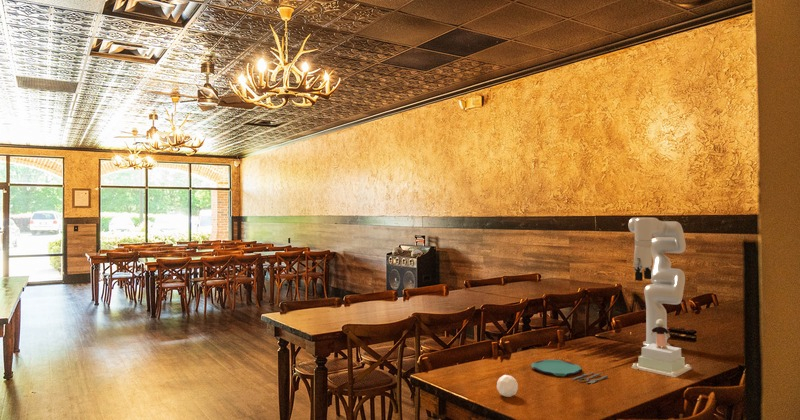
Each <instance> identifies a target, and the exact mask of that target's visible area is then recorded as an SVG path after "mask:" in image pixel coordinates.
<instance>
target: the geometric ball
mask: <svg viewBox="0 0 800 420" xmlns="http://www.w3.org/2000/svg"><path fill="white" fill-rule="evenodd" d="M518 387H519V384H518V382H517V379H516V378H514V376H512V375H508V374H504V375H502V376H500V377H499V378H498V380H497V382H496V389H497V391H498V393H499V394H500V395H501V396H503V397H504V398H506V397H507V398H511V397H513V396H514V395H516V394H517V391H518V390H519V389H518Z"/></svg>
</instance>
